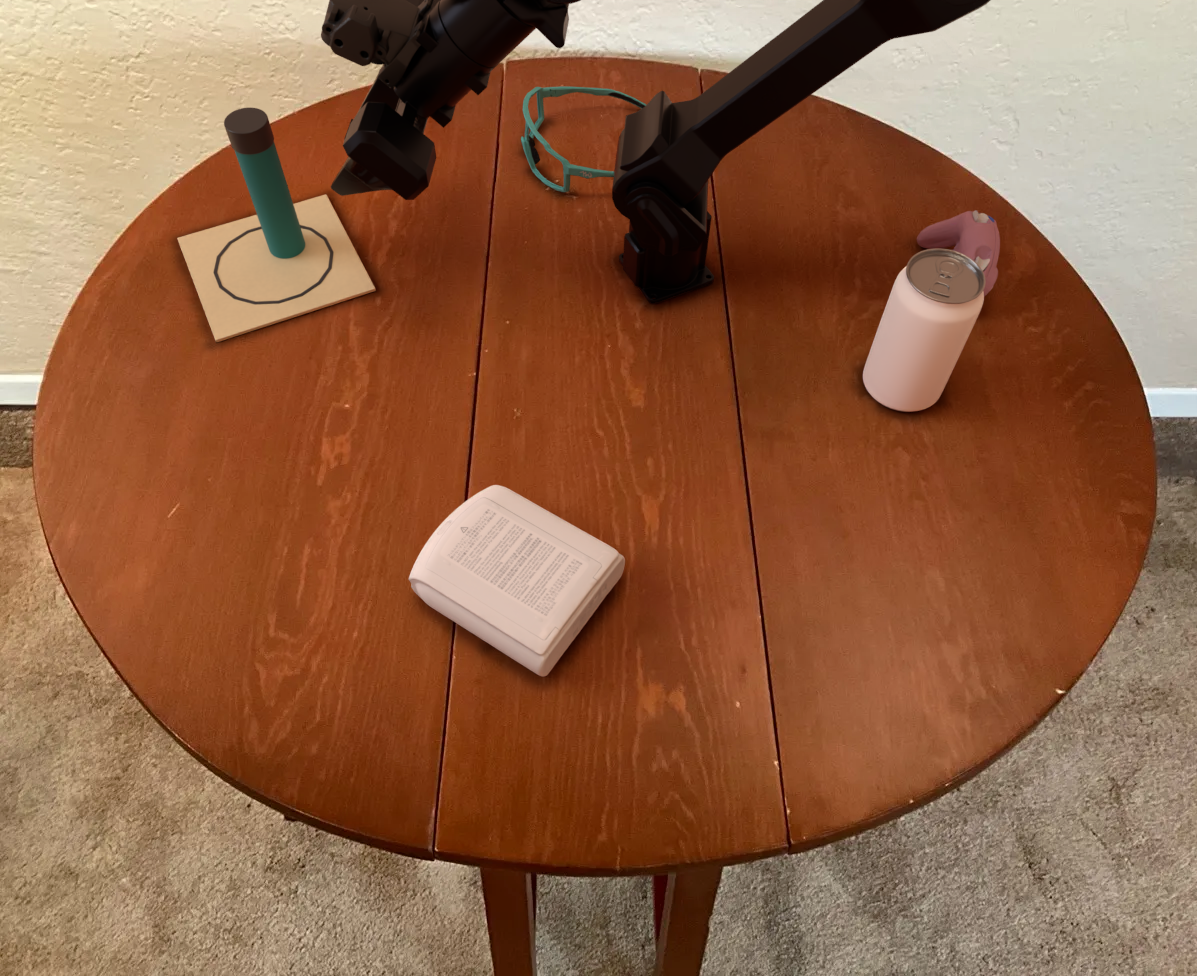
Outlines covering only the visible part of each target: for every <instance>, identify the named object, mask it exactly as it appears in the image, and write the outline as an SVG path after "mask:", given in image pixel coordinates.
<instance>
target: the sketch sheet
mask: <svg viewBox="0 0 1197 976" xmlns="http://www.w3.org/2000/svg"><path fill="white" fill-rule="evenodd" d="M293 205H294V208H295V211H296V214H297V218H298V221H299V224H300V227H301V231H302V234H303V237H304V240H305V248H304V250H303V251H302V252H301V253H300V254H299V255H297V256H295V257H292V258H287V259H282V258H277V257H275V256H273V255H272V254H271V252H270V250H269V247H268V245H267V242H266V239H265V236H264V233H263V230H262V228H261V225H260V222H259V219H258V216H257V214H254V215H250V216H247V217H244V218H241V219H237V220H233V221H230V222H227V223H223V224H220V225H217V226H213V227H210V228H207V229H202V230H199V231H196V232H192V233H188V234H186V235H183V236H179V237H177V238H176V239H177V242H178V245H179V247H180V249H181V252H182V255H183V258H184V260H185V263H186V266H187V269H188V271H189V274H190V276H191V279H192V282H193V284H194V287H195V291H196V292H197V294H198V298H199V301H200V304H201V306H202V309H203V312H204V314H205V316H206V319H207V322H208V324H209V327H210V330H211V333H212V335H213V338H214V340H215V343H219V342H222V341H226V340H229V339H232V338H235V337H238V336H242V335H243V334H246V333H250V332H254V331H257V330H259V329H262V328H265V327H269V326H272V325H274V324H278V323H281V322H284V321H287V320H290V319H293V318H296V317H299V316H302V315H305V314H306V315H307V314H308V313H309V314H310V313H312V312H314V311H317V310H321V309H324V308H327V307H330V306H333V305H337V304H339V303H342V302H346V301H349V300H351V299H355V298H358V297H361V296H364V295H367V294H369V293H373V292H377V290H376V287H375V284H374V283H373V281H372V279H371V277H370V276H369V273H368V271H367V270H366V268H365V266H364V264H363V262H362V260H361V258H360V256H359V254H358V252H357V250H356V249H355V247H354V244H353V243H352V241H351V238H350V237H349V235H348V233H347V231H346V230H345V227H344V225H343V224H342V222H341V220H340V218H339V216H338V214H337V212H336V209H335V208H334V206H333V205H332V202H331V200H330V198H329V196H328V195H327V193H326V194H322V195H319V196H315V197H312V198H308V199H305V200H302V201H298V202H295V203H293Z"/></svg>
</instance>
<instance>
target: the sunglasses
mask: <svg viewBox="0 0 1197 976" xmlns="http://www.w3.org/2000/svg"><path fill="white" fill-rule="evenodd" d="M574 93H580V94H587V95H593V96H599V97H611V98H615V99H619V100H623V101H624V102H627V103H629V104H631V105H633V106H635V107H637V108H640V110H641V109H642V108H644V107H645V106H646V105H647V104H646V103H645V102H643V101H641V100H639V99H638V98H636V97H634V96H631V95H629V94H626V93H624V92H622V91H619V90H615V89H612V88H603V87H587V86H586V87H585V86H565V85H564V86H547V87H545V86H544V87H541V86H535V87H534V88H532V89H531V90H530V91H529V92H527V93H526V95H525V96H524V98H523V102H522V114H523V118H524V121H525V126H524V127H525V128H524V135H523V136H521V137H520V142H521V146H522V148H523V152H524V155H525V158H526V161H527V163H528V165H529V167H530V169H531V172H532V173H533V174H534V176H535V177H536V178H538V180H539V181H541V182H542V183H543V184H544V185H545V186H548V187H549V188H551V189H553V190H555V191H558V192H561V193H568V192H570V190H571V176H573V177H574V176H575V177H580V178H584V179H588V180H589V179H595V178H614V170H604V169H597V168H592V167H587V166H582V165H577V164H572V163H570V161H569V159H566V158H565V157H563V156H562V155H561V154H560V153H558V152H557V151H555V150H554V149H553V148H552V147H551V144H550V143H549V142H548V141H547V140H546V139H545V138H544V136H542V134H541V133H540V132H539V131H538V130H539V128H540V127H541V125H542V124H543V122H544V120H545V107H544V98H545V99H546V98H558V97H561V96H566V95H568V94H569V95H570V94H574ZM535 94H536V106H537V107H536V108H537V119H536V121H535V122H534V121H533V120H532V118H531V114H530V110H529V105H530V104H529V103H530V100H531V98H532V97H533V96H535ZM534 137H535V138H536V139H537V141H538V142H539V143H540V144H541V145H542V146H543V148H544V150H545V151H546V152H547V153H548V154H550V155H551V157H552V156H553V158H555V159H556V160H558V161H559V162H560V163H561V164H562V169H563V170H562V174H563V175H562V176H563V186H562V185H559V184H556V183H553V182H552V181H550V180H548V179H547V178H546V177H544V175H543V174H541V173H540V171H539V170H538V168H537V166H536V165H538V164H539V162H540V161H541V157H540V155H539V151H538V150H537V148H536V147H535V146H536V142H535V139H534Z"/></svg>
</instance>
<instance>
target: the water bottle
mask: <svg viewBox="0 0 1197 976" xmlns="http://www.w3.org/2000/svg"><path fill="white" fill-rule="evenodd" d="M223 126H224V129H225V131H226V134H227V137H228V140H229V143H230V146H231V148H232V150H233V151H234V153H235V157H236V159H237V162H238V164H239V165H238V166H239V168H240V170H241V173H242V176H243V178H244V182H245V184H246V187H247V191H248V193H249V196H250V199H251V202H252V204H253V208H254V210H255V213H256V215H257V216H258V219H259V222H260V225H261V228H262V230H263V233H264V236H265V239H266V242H267V245H268V247H269V250H270V252H271V254H272V255H273V256H275V257H277V258H282V259H287V258H292V257H295V256H297V255H299V254H300V253H301V252H302V251H303V250H304V248H305V240H304V237H303V234H302V231H301V227H300V224H299V221H298V218H297V214H296V211H295V208H294V205H293V204H294V202H293V198H292V195H291V192H290V189H289V186H288V182H287V179H286V176H285V172H284V169H283V166H282V162H281V159H280V156H279V153H278V150H277V147H276V143H275V136H274V134H273V130H272V126H271V123H270V120H269V116H268V114H267V113H266V112H265V111H264V110H263V109H260V108H257V107H242V108H237V109H236V110H233V111H231V112H230V113H229V114H227V115H226V116H225V118H224V121H223Z"/></svg>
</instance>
